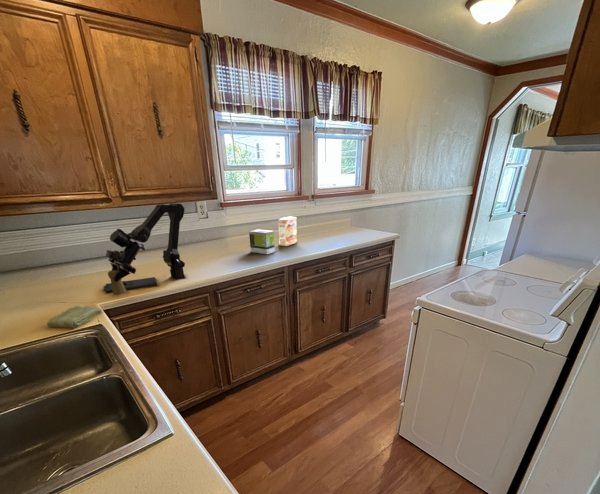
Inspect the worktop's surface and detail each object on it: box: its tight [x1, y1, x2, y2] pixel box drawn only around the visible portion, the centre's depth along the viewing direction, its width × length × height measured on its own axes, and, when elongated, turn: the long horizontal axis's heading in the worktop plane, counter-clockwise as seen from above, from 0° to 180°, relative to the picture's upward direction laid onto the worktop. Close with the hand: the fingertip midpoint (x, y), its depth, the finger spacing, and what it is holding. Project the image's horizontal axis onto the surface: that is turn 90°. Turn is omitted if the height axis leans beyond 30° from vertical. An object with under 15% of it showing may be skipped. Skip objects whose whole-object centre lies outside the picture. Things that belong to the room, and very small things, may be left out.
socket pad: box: [103, 276, 158, 294], centre depth 170 cm, size 25×14×2 cm, turn 117°
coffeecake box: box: [278, 216, 298, 247], centre depth 251 cm, size 15×7×20 cm, turn 147°
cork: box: [107, 269, 127, 295], centre depth 158 cm, size 6×6×11 cm
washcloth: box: [46, 305, 103, 329], centre depth 134 cm, size 13×18×3 cm
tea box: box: [248, 229, 276, 255], centre depth 230 cm, size 15×10×15 cm, turn 58°
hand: (112, 280), depth 156 cm, fingers closed on cork, 5 cm apart
